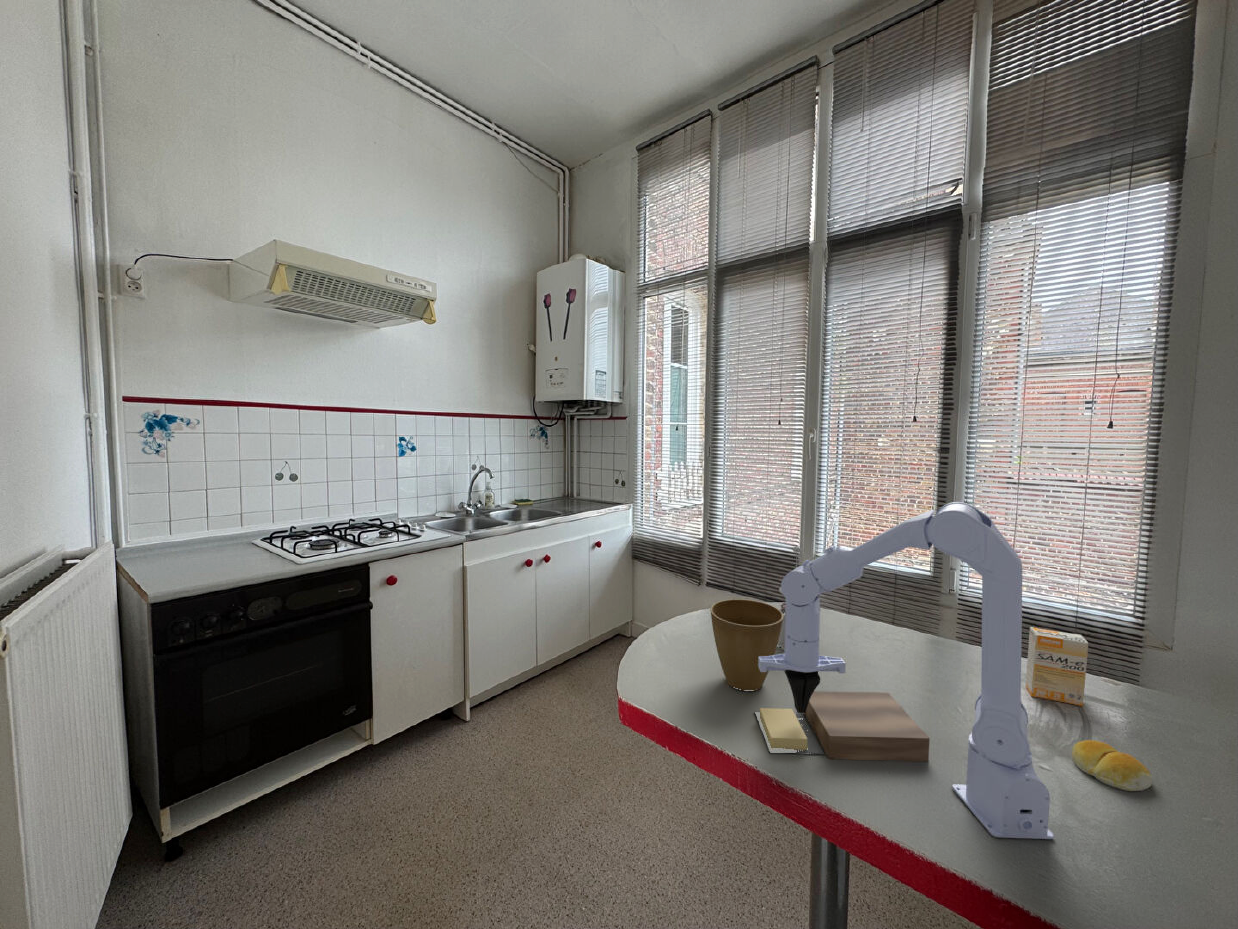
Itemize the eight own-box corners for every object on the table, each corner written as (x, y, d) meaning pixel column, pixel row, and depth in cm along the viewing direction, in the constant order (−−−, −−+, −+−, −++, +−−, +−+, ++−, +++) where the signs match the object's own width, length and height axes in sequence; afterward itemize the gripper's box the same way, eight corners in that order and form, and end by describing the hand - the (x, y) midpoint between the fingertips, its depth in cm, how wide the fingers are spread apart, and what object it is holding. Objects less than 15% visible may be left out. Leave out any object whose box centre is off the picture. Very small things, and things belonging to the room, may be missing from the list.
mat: (823, 755, 85) (823, 753, 85) (769, 753, 85) (769, 752, 85) (801, 713, 97) (801, 712, 97) (754, 712, 97) (754, 711, 97)
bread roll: (1094, 751, 86) (1096, 728, 85) (1161, 788, 77) (1163, 763, 77) (1056, 758, 84) (1058, 735, 83) (1120, 797, 75) (1122, 772, 75)
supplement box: (1030, 697, 102) (1034, 634, 101) (1025, 686, 106) (1028, 625, 105) (1084, 708, 98) (1089, 642, 97) (1076, 696, 102) (1080, 633, 101)
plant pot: (704, 695, 103) (705, 619, 102) (715, 662, 117) (715, 595, 116) (781, 708, 99) (782, 629, 97) (782, 672, 113) (783, 602, 111)
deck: (928, 761, 83) (929, 738, 83) (829, 759, 84) (829, 736, 83) (887, 712, 97) (888, 692, 97) (802, 711, 98) (803, 691, 97)
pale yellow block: (771, 738, 86) (771, 749, 86) (807, 739, 85) (807, 750, 86) (759, 708, 95) (759, 718, 95) (792, 708, 94) (792, 719, 94)
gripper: (835, 626, 92) (833, 698, 93) (754, 625, 93) (753, 696, 94) (851, 643, 85) (849, 720, 86) (764, 642, 86) (762, 719, 87)
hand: (800, 709), depth 89 cm, fingers closed
